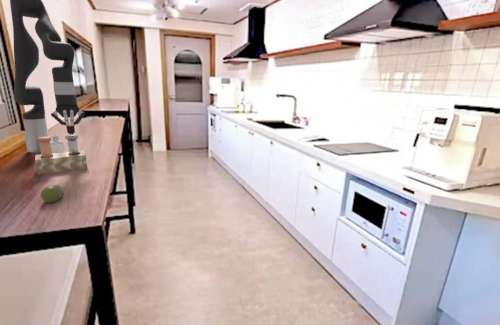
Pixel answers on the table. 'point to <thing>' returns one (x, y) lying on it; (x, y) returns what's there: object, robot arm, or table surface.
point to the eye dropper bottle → (57, 145)
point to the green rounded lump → (51, 193)
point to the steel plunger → (72, 144)
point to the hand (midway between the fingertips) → (71, 134)
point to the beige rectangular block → (60, 162)
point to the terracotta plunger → (45, 146)
